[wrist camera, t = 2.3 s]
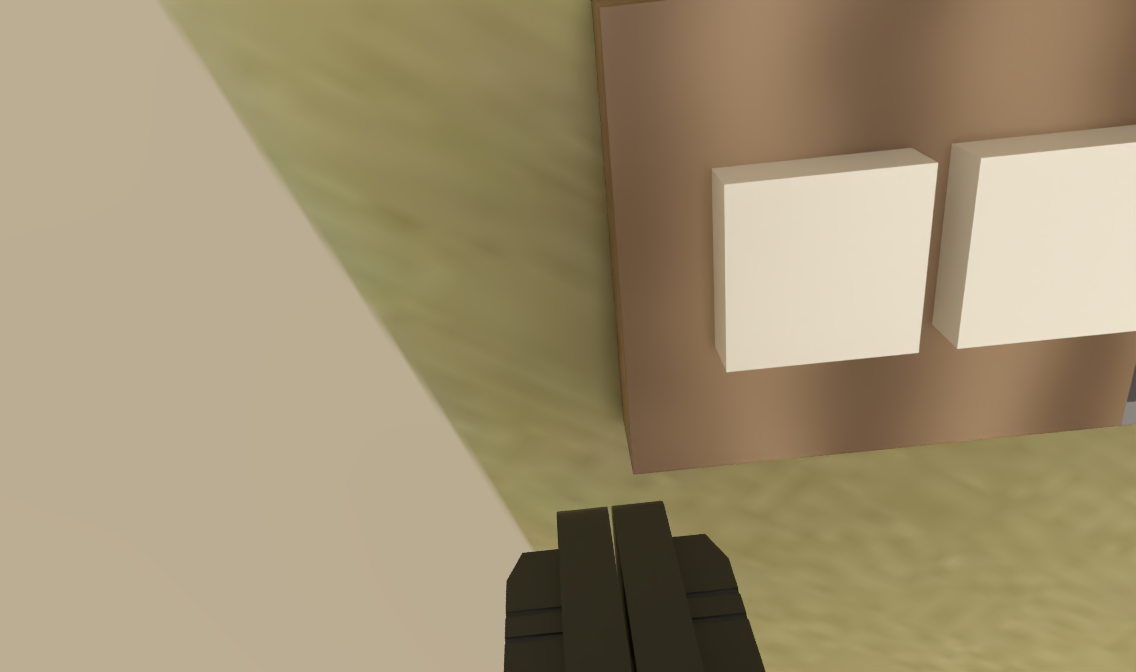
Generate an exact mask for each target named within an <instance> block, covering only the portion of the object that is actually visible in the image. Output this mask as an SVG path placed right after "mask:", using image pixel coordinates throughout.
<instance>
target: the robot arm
mask: <svg viewBox="0 0 1136 672" xmlns="http://www.w3.org/2000/svg"><path fill="white" fill-rule="evenodd" d="M612 522H613V534H614V545H615V556H614V549H613V542H612V535H611V528H610V521H609V514H608V508H607V507H599V508H590V509H580V510H570V511H560V512H557V530H558V548H559V549H556V550H546V551H536V552H527V553H522V555H521V556H520V558H519V560H518V562H517V564H516V565H515V567H514V569H513V571H512V572H511V574H510V576H509V578H508V580H507V586H506V587H507V588H506V620H505V655H504V672H765V669H764V666H763V663H762V659H761V656H760V653H759V650H758V647H757V644H756V641H755V638H754V635H753V632H752V629H751V626H750V623H749V620H748V619H747V616H746V610H745V607H744V604H743V601H742V598H741V595H740V594H739V591H738V586H737V583H736V580H735V577H734V574H733V571H732V567H731V564H730V561H729V558H728V557H727V556H726V555H725V554H724V553H723V552H722V551H721V550H720V549H719V548H718V547H717V546H716V545H715V544H714V543H713V542H712V541H711V540H710V539H709V537H708V536H707V535H706V534H699V535H689V536H680V537H672V535H671V531H670V527H669V523H668V519H667V515H666V511H665V507H664V504H663V501H655V502H646V503H636V504H626V505H617V506H612ZM615 557H616V563H615ZM616 569H617V570H616Z"/></svg>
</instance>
